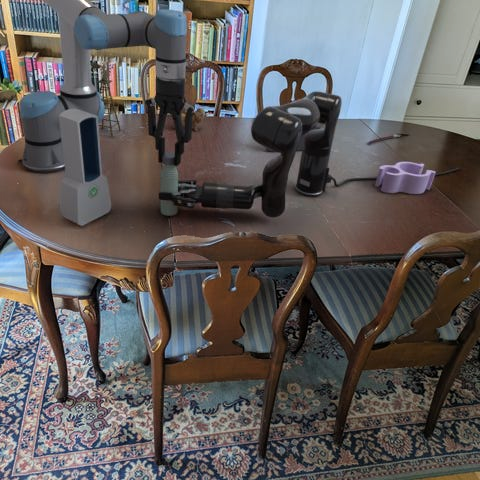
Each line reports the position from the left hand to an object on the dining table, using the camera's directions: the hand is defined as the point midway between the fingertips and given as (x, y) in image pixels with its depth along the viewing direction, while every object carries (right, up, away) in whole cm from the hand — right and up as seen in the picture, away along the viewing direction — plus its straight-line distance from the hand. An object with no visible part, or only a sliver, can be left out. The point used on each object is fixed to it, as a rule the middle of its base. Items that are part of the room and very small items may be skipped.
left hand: (169, 162), depth 132 cm
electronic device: (-24, -15, +3) cm, 28 cm away
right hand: (-3, -8, +5) cm, 10 cm away
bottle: (-2, -13, +9) cm, 16 cm away
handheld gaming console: (+41, +15, +60) cm, 74 cm away
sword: (+88, +24, +82) cm, 123 cm away
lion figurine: (-2, +26, +69) cm, 74 cm away
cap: (0, +2, -1) cm, 2 cm away
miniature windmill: (-34, +22, +57) cm, 70 cm away
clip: (+79, -3, +39) cm, 88 cm away
